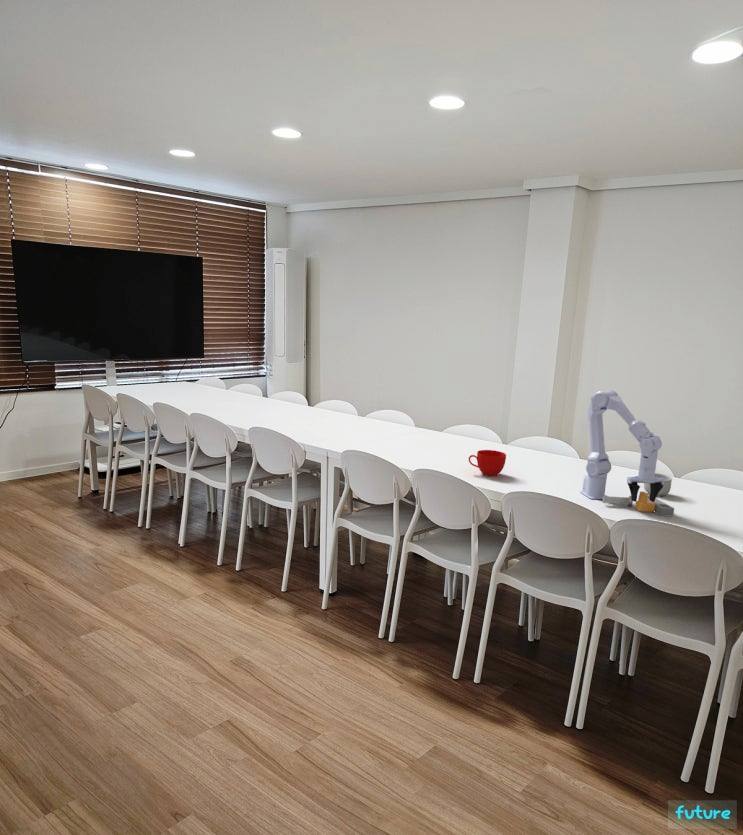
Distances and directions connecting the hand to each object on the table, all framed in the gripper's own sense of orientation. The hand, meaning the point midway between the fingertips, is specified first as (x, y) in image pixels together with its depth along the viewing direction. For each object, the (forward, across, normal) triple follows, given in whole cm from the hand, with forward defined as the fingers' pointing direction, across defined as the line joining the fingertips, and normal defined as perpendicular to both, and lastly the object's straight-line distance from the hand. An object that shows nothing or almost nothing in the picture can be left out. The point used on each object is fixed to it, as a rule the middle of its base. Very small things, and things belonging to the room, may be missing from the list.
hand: (642, 500), depth 240 cm
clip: (+4, -7, +5) cm, 10 cm away
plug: (+4, +1, 0) cm, 4 cm away
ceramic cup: (+4, -48, +48) cm, 68 cm away
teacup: (+4, +20, +23) cm, 30 cm away
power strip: (+4, +7, +2) cm, 8 cm away
